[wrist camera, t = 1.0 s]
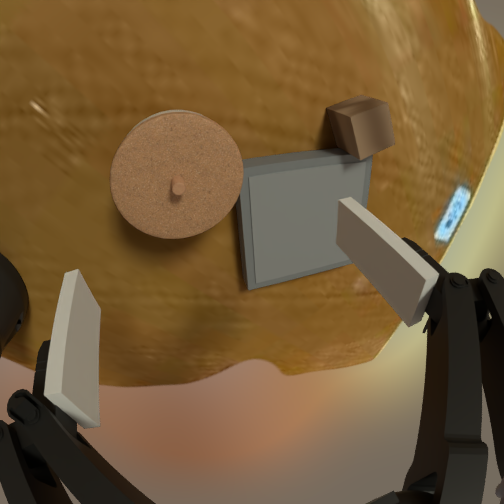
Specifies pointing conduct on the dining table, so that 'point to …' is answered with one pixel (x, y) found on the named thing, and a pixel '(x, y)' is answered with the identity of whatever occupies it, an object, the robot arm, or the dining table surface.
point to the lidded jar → (176, 174)
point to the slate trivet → (296, 212)
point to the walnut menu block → (361, 126)
